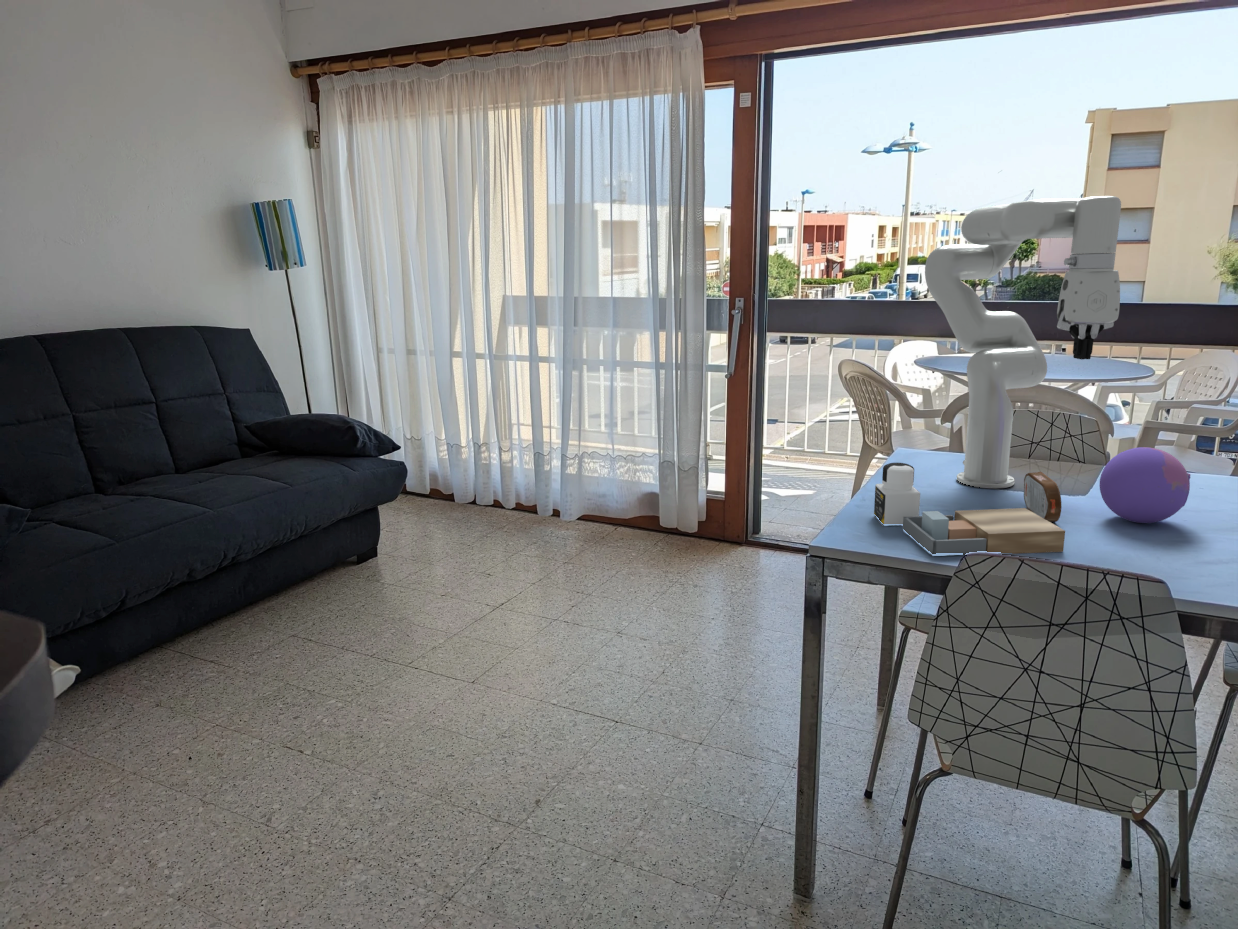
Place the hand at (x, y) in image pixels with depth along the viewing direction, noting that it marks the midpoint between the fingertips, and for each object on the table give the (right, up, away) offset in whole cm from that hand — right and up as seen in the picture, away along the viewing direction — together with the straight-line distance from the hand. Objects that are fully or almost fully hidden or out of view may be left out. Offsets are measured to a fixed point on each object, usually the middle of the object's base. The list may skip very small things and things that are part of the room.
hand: (1081, 358), depth 162 cm
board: (-18, -35, -7) cm, 41 cm away
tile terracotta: (-28, -35, -8) cm, 46 cm away
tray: (-31, -36, -7) cm, 48 cm away
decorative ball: (+12, -33, +1) cm, 35 cm away
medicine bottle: (-35, -33, +6) cm, 48 cm away
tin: (-5, -32, +7) cm, 33 cm away
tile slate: (-31, -33, -8) cm, 46 cm away
